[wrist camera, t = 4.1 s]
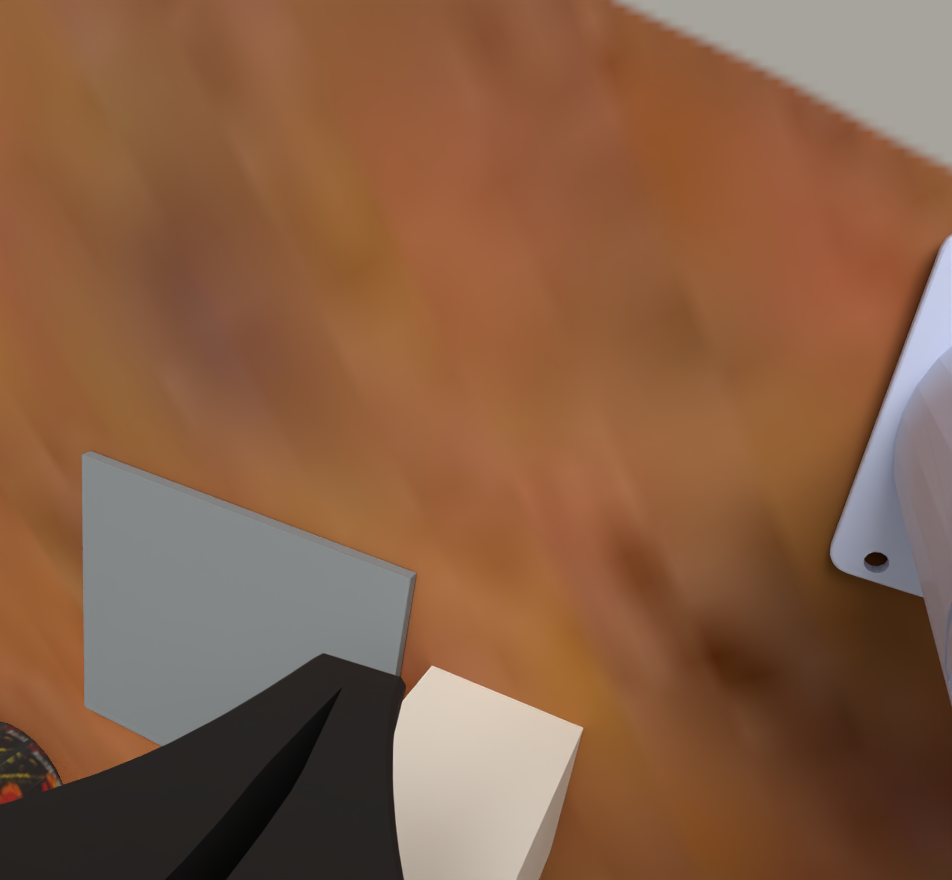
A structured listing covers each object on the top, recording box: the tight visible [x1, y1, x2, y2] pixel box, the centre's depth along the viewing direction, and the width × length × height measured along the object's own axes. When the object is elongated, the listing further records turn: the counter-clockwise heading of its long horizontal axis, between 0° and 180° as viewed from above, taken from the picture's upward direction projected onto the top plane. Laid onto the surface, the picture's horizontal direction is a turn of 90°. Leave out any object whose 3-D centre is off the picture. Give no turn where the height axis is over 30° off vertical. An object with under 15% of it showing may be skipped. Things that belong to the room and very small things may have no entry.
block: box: [393, 666, 583, 880], centre depth 21 cm, size 5×5×9 cm
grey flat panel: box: [82, 451, 416, 746], centre depth 28 cm, size 13×11×1 cm
